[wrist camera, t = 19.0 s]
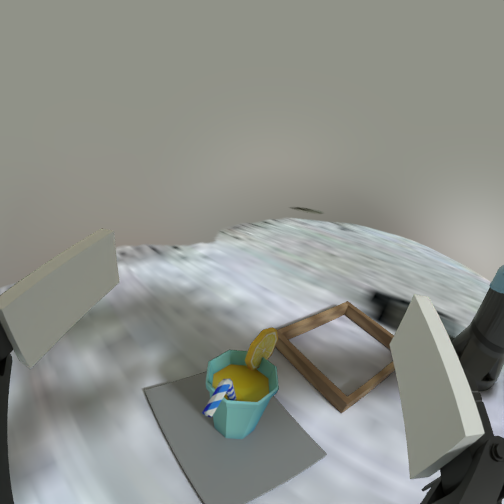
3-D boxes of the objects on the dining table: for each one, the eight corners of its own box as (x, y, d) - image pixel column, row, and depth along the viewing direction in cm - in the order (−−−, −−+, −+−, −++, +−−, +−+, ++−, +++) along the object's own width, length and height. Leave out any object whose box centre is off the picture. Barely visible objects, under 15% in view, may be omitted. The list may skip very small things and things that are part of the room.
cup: (237, 482, 23) (256, 430, 17) (177, 455, 25) (161, 387, 19) (277, 400, 35) (303, 320, 29) (226, 381, 37) (236, 298, 31)
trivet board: (242, 362, 42) (242, 358, 42) (324, 456, 28) (327, 454, 27) (145, 393, 34) (144, 389, 33) (213, 517, 19) (213, 516, 19)
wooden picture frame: (344, 310, 58) (347, 301, 57) (406, 358, 45) (412, 349, 44) (270, 341, 47) (273, 331, 46) (341, 413, 34) (347, 404, 33)
